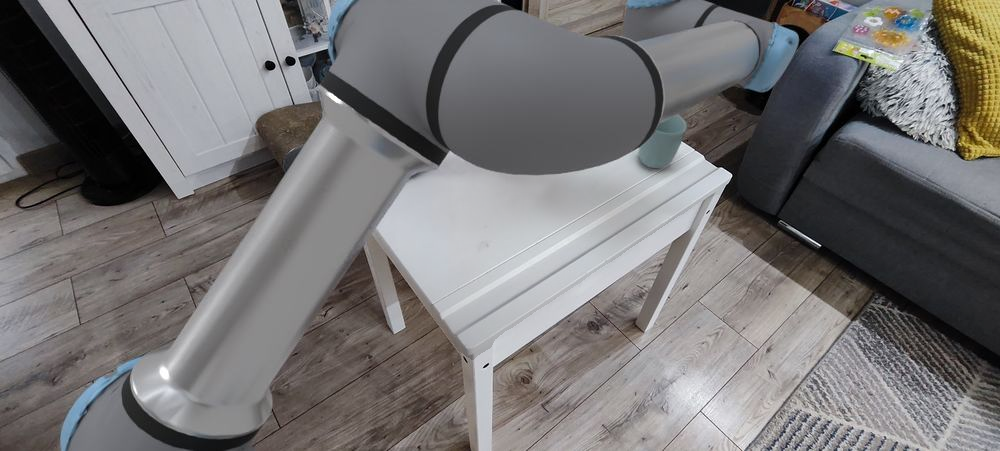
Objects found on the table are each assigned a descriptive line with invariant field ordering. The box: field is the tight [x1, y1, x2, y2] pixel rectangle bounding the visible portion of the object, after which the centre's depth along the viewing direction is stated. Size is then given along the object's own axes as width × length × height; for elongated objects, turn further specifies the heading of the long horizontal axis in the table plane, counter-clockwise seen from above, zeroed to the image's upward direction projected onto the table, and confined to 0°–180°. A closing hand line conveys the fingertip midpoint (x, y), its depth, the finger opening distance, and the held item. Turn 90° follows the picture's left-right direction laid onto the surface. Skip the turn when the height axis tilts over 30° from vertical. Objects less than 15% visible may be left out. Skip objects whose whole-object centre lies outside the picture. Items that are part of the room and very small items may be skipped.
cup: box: [637, 114, 687, 169], centre depth 93 cm, size 8×8×10 cm
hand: (442, 56), depth 75 cm, fingers open, 13 cm apart
